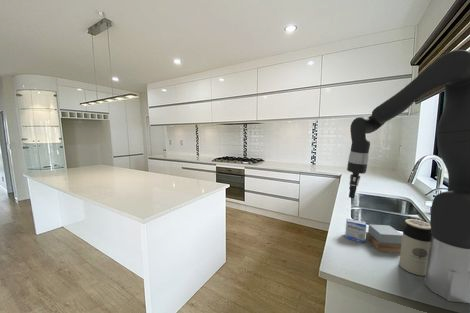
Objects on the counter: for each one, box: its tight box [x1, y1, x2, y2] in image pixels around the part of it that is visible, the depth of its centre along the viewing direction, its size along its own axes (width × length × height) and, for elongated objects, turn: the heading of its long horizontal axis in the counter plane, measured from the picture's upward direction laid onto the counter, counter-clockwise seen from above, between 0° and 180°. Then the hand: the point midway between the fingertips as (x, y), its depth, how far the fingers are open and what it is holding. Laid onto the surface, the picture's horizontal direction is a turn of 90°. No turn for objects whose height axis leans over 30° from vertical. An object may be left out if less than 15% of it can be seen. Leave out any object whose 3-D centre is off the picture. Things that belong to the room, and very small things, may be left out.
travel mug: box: [398, 218, 432, 276], centre depth 72 cm, size 8×8×18 cm
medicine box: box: [344, 218, 367, 243], centre depth 93 cm, size 8×4×9 cm, turn 62°
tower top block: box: [367, 224, 403, 244], centre depth 87 cm, size 9×9×4 cm
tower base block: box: [365, 231, 401, 254], centre depth 88 cm, size 10×10×4 cm
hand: (352, 195), depth 92 cm, fingers open, 8 cm apart
